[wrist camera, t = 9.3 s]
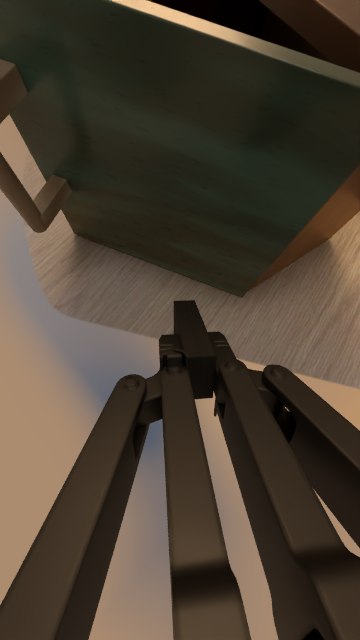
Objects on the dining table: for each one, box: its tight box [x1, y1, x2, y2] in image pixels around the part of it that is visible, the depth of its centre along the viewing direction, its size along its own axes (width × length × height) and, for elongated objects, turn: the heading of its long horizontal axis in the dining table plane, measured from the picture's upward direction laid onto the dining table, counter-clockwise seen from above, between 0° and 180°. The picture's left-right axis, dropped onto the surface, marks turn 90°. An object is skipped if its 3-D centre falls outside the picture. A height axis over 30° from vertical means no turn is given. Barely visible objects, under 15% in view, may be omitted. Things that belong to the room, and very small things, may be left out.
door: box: [0, 0, 360, 297], centre depth 19 cm, size 6×22×20 cm, turn 69°
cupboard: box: [147, 0, 360, 291], centre depth 23 cm, size 15×22×20 cm
